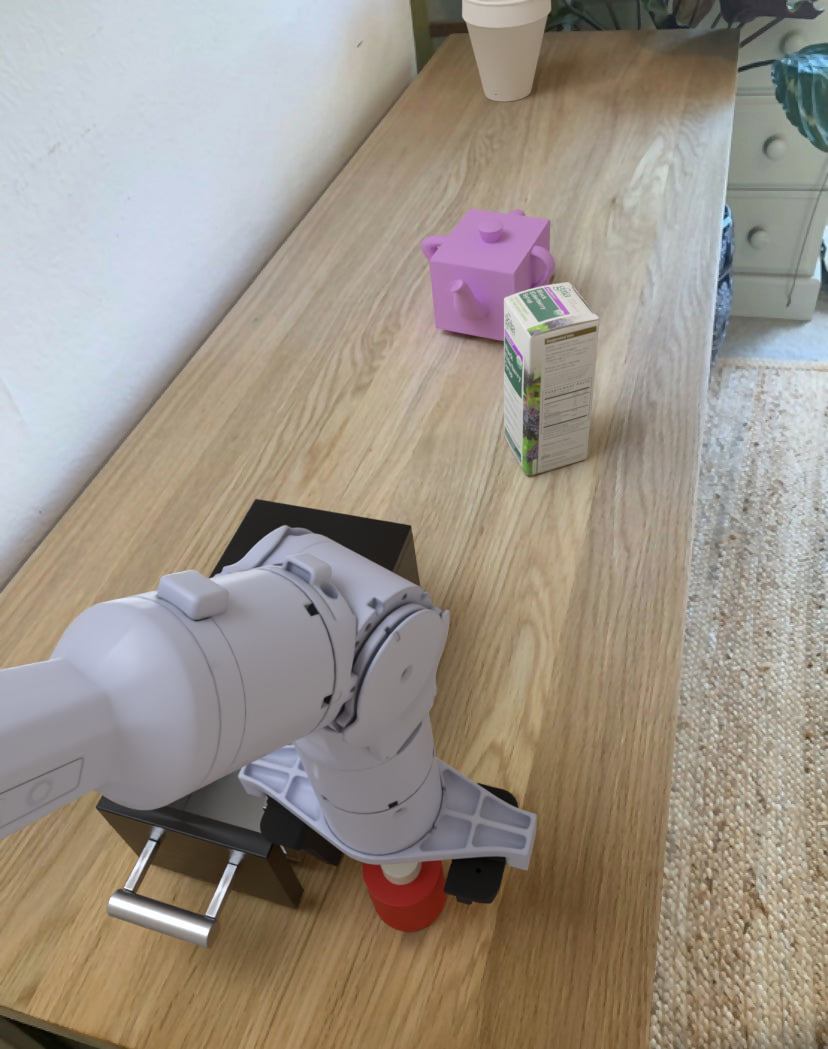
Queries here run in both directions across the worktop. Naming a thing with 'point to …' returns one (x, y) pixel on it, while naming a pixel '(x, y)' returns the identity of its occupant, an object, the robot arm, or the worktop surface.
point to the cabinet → (328, 535)
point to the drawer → (201, 857)
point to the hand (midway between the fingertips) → (402, 866)
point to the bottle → (406, 893)
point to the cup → (506, 43)
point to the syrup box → (548, 376)
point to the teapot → (486, 268)
